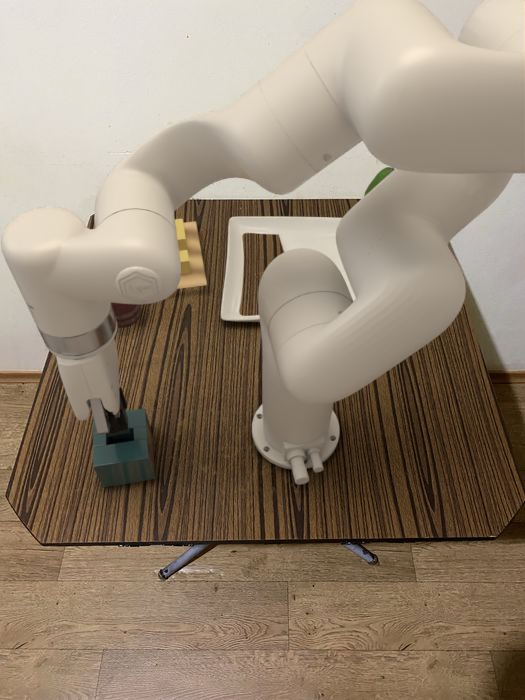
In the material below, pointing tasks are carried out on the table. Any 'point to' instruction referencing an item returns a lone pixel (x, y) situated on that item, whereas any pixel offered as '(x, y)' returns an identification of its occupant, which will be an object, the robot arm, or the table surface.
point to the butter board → (193, 259)
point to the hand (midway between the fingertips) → (115, 418)
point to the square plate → (292, 236)
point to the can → (126, 314)
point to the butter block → (181, 234)
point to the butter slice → (184, 262)
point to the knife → (122, 435)
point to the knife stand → (125, 453)
